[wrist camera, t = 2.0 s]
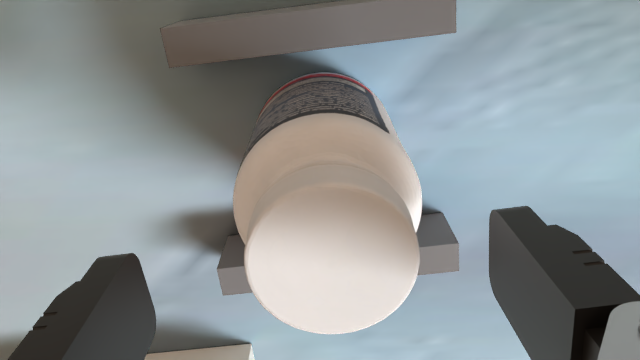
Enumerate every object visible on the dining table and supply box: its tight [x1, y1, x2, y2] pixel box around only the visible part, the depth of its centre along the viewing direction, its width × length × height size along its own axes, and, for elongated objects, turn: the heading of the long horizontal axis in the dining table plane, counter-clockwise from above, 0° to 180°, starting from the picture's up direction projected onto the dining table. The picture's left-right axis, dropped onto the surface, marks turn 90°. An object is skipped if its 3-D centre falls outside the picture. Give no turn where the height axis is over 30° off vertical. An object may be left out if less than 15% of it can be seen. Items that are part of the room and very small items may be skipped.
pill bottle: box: [233, 72, 422, 334], centre depth 15 cm, size 5×5×9 cm
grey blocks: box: [160, 0, 459, 295], centre depth 18 cm, size 9×10×2 cm
